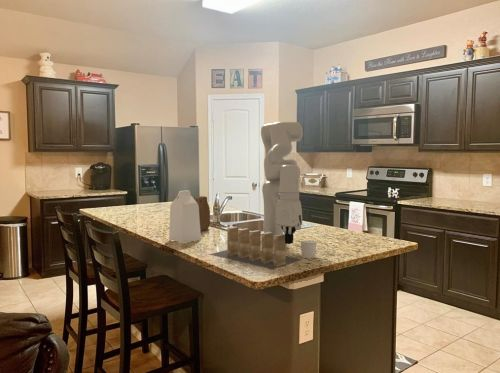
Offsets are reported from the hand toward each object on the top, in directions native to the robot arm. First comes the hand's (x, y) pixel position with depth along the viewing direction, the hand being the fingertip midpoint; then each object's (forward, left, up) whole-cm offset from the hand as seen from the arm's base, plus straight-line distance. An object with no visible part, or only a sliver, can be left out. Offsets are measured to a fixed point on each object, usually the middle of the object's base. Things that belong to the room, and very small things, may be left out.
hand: (289, 243), depth 161 cm
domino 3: (0, -11, -9) cm, 15 cm away
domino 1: (0, -24, -9) cm, 26 cm away
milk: (-7, -73, -10) cm, 74 cm away
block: (-32, -89, -10) cm, 95 cm away
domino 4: (0, -5, -9) cm, 10 cm away
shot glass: (-19, -4, -10) cm, 22 cm away
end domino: (0, -31, -9) cm, 32 cm away
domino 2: (0, -18, -9) cm, 20 cm away
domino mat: (-3, -21, -10) cm, 23 cm away
